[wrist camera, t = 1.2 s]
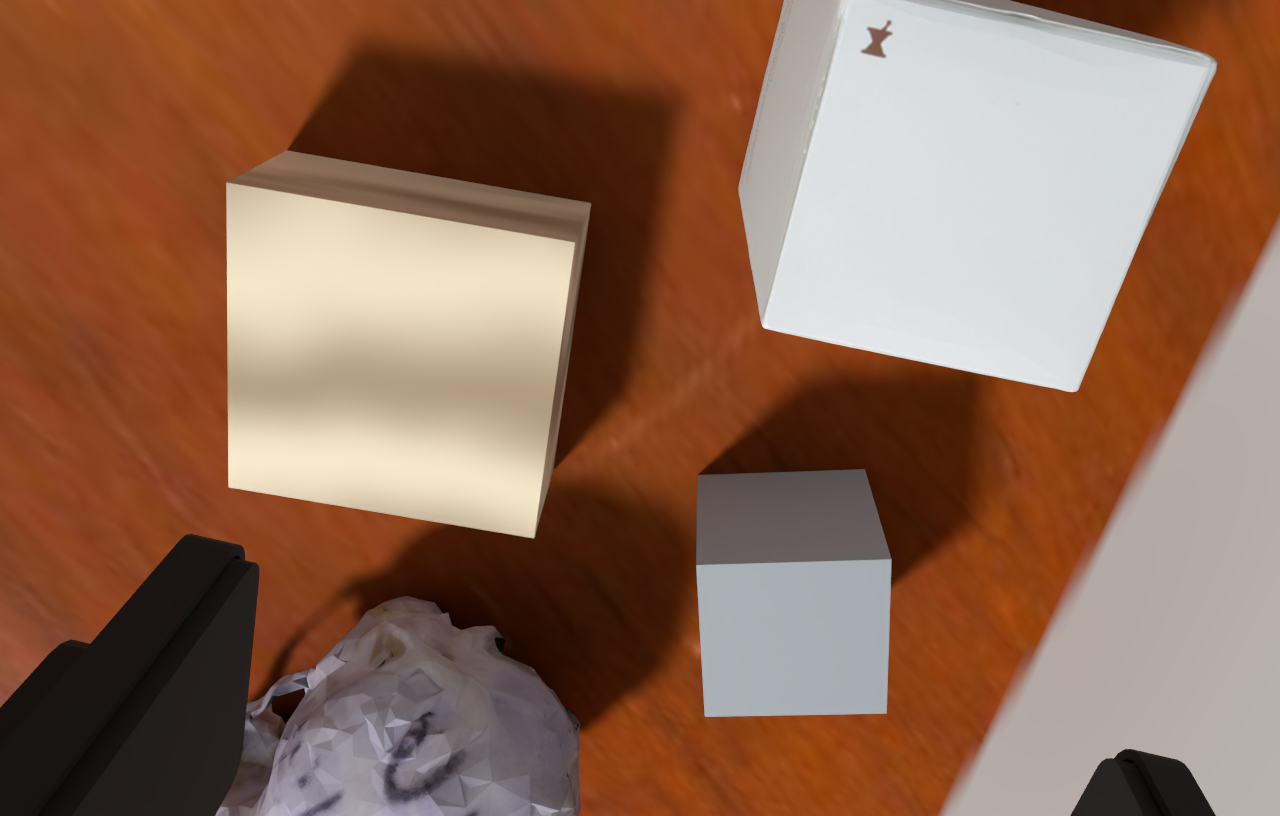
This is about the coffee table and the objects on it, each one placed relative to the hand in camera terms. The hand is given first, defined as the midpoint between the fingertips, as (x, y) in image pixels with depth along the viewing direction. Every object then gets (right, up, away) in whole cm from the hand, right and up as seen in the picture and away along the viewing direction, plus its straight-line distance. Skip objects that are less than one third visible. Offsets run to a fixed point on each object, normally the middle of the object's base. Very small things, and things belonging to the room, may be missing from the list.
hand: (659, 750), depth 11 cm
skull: (-11, -9, +32) cm, 35 cm away
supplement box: (+7, +13, +21) cm, 26 cm away
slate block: (+5, -1, +28) cm, 28 cm away
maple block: (-7, +7, +25) cm, 27 cm away
